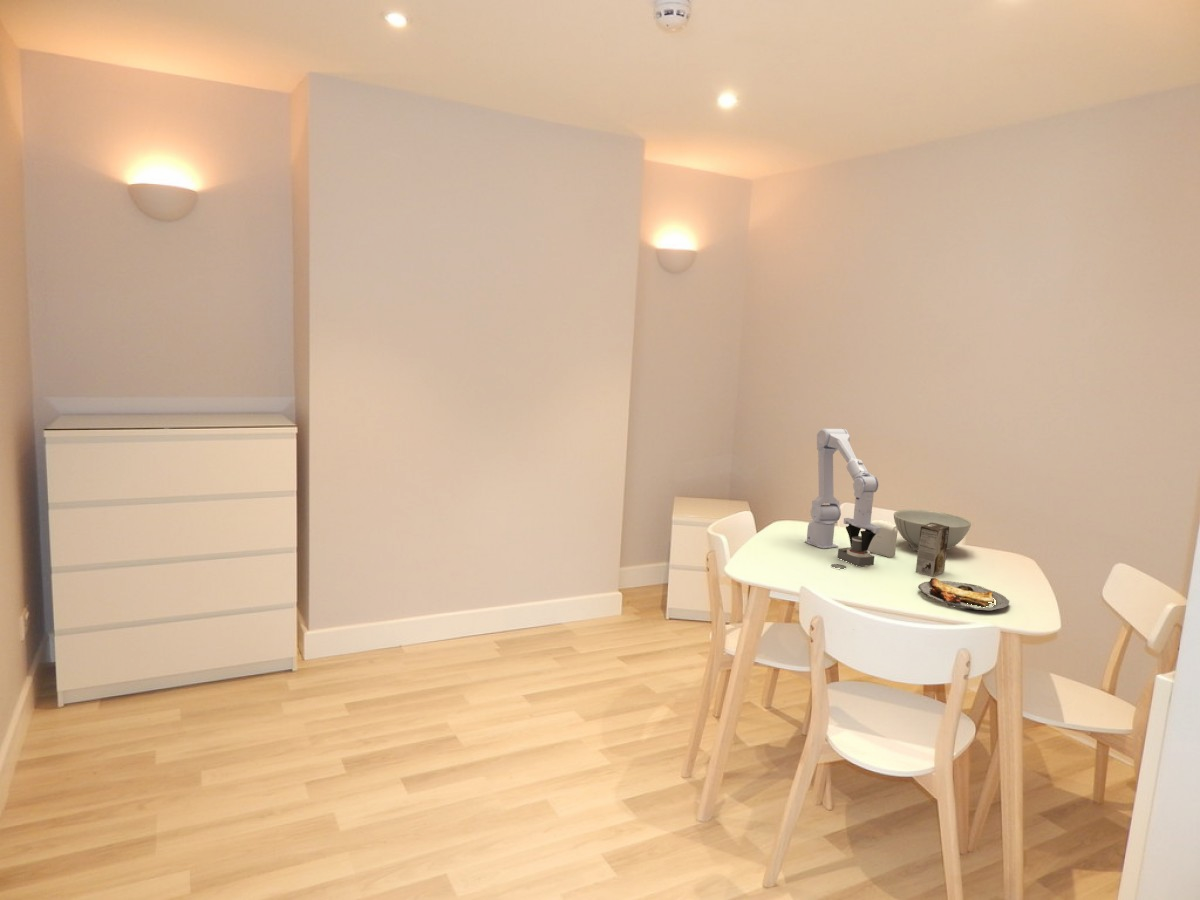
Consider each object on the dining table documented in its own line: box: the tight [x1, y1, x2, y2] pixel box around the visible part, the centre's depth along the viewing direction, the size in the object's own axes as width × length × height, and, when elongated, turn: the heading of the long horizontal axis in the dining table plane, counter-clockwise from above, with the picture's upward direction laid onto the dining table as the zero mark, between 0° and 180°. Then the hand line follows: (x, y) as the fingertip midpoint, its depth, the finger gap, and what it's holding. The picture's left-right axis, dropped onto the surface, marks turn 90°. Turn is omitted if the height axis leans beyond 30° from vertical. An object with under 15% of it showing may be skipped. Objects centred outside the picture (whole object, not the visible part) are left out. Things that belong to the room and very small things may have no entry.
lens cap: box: [830, 563, 847, 570], centre depth 262 cm, size 5×5×1 cm
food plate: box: [917, 577, 1010, 611], centre depth 235 cm, size 25×23×4 cm
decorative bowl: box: [893, 509, 972, 551], centre depth 291 cm, size 27×27×12 cm
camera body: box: [836, 546, 875, 567], centre depth 270 cm, size 10×8×4 cm
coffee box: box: [915, 523, 949, 578], centre depth 261 cm, size 9×6×16 cm
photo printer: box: [867, 519, 899, 558], centre depth 280 cm, size 10×4×12 cm, turn 39°
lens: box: [850, 535, 865, 554], centre depth 268 cm, size 4×4×6 cm
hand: (858, 548), depth 268 cm, fingers closed on lens, 4 cm apart
